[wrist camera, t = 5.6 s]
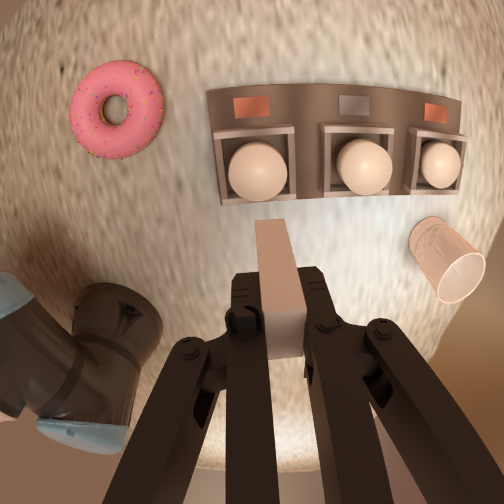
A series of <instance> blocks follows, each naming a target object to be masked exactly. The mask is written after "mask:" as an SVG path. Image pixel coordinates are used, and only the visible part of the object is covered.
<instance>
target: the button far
mask: <svg viewBox="0 0 504 504" xmlns="http://www.w3.org/2000/svg"><path fill="white" fill-rule="evenodd" d="M460 166H461V162H460V157H459V154H458V152H457V151H456V150H455V149H454V148H453V147H451V146H449V145H447V144H445V143H443V142H441V141H438V140H433V141H430V142H428V143H426V144H425V145H424V146H423V147H422V149H421V150H420V159H419V168H418V171H419V174H420V175H421V177H422V178H423V179H425V180H426V181H427V182H429V183H430V184H431V185H433V186H434V187H436V188H440V189H442V188H446V187H448V186H450V185H451V184H453V183H454V181H455V180H456V179H457V177H458V175H459V172H460Z"/></svg>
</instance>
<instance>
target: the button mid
mask: <svg viewBox="0 0 504 504" xmlns="http://www.w3.org/2000/svg"><path fill="white" fill-rule="evenodd" d="M337 171H338V174H339V176H340V178H341V179H342V180H343V181H344V183H345V184H346V185H347V186H348V187H349V189H350V190H352V191H353V192H355V193H357V194H359V195H372V194H375V193H377V192H379V191H380V190H382V189H383V188H384V187H385V186H386V185H387V183H388V182H389V180H390V178H391V175H392V161H391V158H390V156H389V154H388V153H387V152H386V150H384V149H383V148H382V147H380V146H379V145H377V144H375V143H374V142H372V141H370V140H367V139H356V140H353V141H351V142H349V143H347V144H346V145H345V146H344V147H343V148H342V149H341V151H340V153H339V155H338V158H337Z"/></svg>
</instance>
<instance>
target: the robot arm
mask: <svg viewBox="0 0 504 504" xmlns="http://www.w3.org/2000/svg"><path fill="white" fill-rule="evenodd" d="M255 230H256V242H257V255H258V268H259V272H249V273H237V274H236V275H235V277H234V278H233V280H232V286H231V308H230V309H229V310H228V311H227V312H226V315H225V322H226V327H227V331H226V332H225V333H224V334H223V335H222V336H220V337H218V338H216V339H213V340H210V341H207V342H205V341H204V340H202V339H200V338H198V337H187V338H183V339H181V340H180V341H178V342H177V343H176V344H175V345H174V346H173V348H172V350H171V352H170V354H169V356H168V358H167V360H166V362H165V364H164V366H163V368H162V371H161V373H160V375H159V377H158V379H157V381H156V383H155V385H154V388H153V390H152V392H151V394H150V396H149V398H148V400H147V403H146V405H145V407H144V409H143V411H142V413H141V416H140V418H139V420H138V422H137V424H136V427H135V429H134V431H133V433H132V435H131V438H130V440H129V442H128V444H127V447H126V449H125V451H124V453H123V456H122V458H121V460H120V463H119V465H118V467H117V470H116V472H115V474H114V476H113V479H112V481H111V483H110V486H109V488H108V491H107V493H106V495H105V498H104V500H103V503H102V504H183V501H184V498H185V495H186V492H187V489H188V487H189V484H190V481H191V478H192V474H193V472H194V469H195V466H196V463H197V460H198V457H199V454H200V451H201V448H202V445H203V442H204V439H205V436H206V433H207V430H208V426H209V423H210V420H211V417H212V414H213V411H214V408H215V405H216V402H217V399H218V396H219V393H220V391H222V390H225V389H226V504H280V501H279V488H278V476H277V475H278V474H277V462H276V450H275V438H274V426H273V414H272V402H271V390H270V379H269V367H268V360H270V359H282V358H292V357H301V356H303V352H304V355H305V368H304V378H307V384H308V390H309V396H310V402H311V408H312V414H313V421H314V427H315V434H316V440H317V447H318V454H319V460H320V467H321V474H322V482H323V489H324V497H325V504H394V502H393V498H392V493H391V488H390V484H389V479H388V475H387V470H386V466H385V462H384V457H383V453H382V449H381V446H380V441H379V438H378V433H377V429H376V426H375V422H374V418H373V414H372V411H371V407H370V404H371V405H372V407H373V409H374V410H375V412H376V414H377V416H378V417H379V419H380V421H381V422H382V424H383V426H384V427H385V429H386V431H387V433H388V434H389V436H390V438H391V439H392V441H393V443H394V445H395V447H396V448H397V450H398V452H399V453H400V455H401V457H402V459H403V461H404V462H405V464H406V466H407V467H408V469H409V471H410V473H411V474H412V476H413V478H414V480H415V482H416V484H417V485H418V487H419V489H420V491H421V493H422V494H423V496H424V498H425V500H426V502H427V503H428V504H504V475H503V474H502V472H501V470H500V469H499V467H498V465H497V463H496V462H495V460H494V459H493V457H492V455H491V454H490V452H489V451H488V449H487V447H486V446H485V444H484V443H483V441H482V440H481V438H480V437H479V435H478V434H477V432H476V431H475V429H474V428H473V426H472V425H471V423H470V422H469V420H468V419H467V417H466V416H465V414H464V413H463V412H462V410H461V409H460V407H459V406H458V404H457V403H456V402H455V401H454V399H453V397H452V396H451V395H450V393H449V392H448V390H447V389H446V388H445V386H444V385H443V384H442V382H441V381H440V380H439V378H438V377H437V376H436V374H435V373H434V371H433V370H432V369H431V368H430V366H429V365H428V364H427V362H426V361H425V360H424V358H423V357H422V356H421V354H420V353H419V352H418V351H417V349H416V348H415V347H414V345H413V344H412V343H411V342H410V340H409V339H408V338H407V337H406V335H405V334H404V333H403V332H402V330H401V329H400V328H399V327H398V325H396V324H395V323H394V322H393V321H391V320H388V319H384V318H378V319H374V320H372V321H371V322H369V324H368V325H367V326H359V325H353V324H349V323H347V322H345V321H343V319H342V318H341V317H340V316H339V315H337V313H336V311H335V308H334V305H333V302H332V299H331V296H330V293H329V290H328V287H327V284H326V282H325V278H324V276H323V273H322V272H321V271H320V270H319V269H318V268H317V267H316V266H312V267H301V268H297V267H296V263H295V259H294V255H293V251H292V247H291V244H290V240H289V236H288V232H287V228H286V225H285V221H284V219H272V220H259V221H255ZM34 296H35V295H34V294H33V293H32V292H29V291H28V290H27V289H26V287H25V286H24V285H23V284H22V283H21V282H20V281H19V280H18V279H17V278H16V277H15V276H14V275H13V274H12V273H9V272H0V422H2V421H10V420H17V419H18V417H19V415H20V414H21V412H22V410H23V408H24V407H26V408H28V409H30V410H31V411H32V412H34V413H35V414H37V415H38V417H39V418H38V419H37V420H36V422H37V429H38V430H39V431H40V432H42V433H43V434H44V435H45V436H47V437H49V438H51V439H53V440H55V441H58V442H60V443H62V444H65V445H68V446H71V447H74V448H78V449H80V450H85V451H88V452H93V453H99V454H116V453H118V452H120V451H121V450H122V449H123V447H124V443H125V440H126V436H127V432H128V431H129V429H130V427H129V426H130V421H131V415H132V410H133V405H134V400H135V395H136V390H137V385H138V381H139V376H140V372H141V369H142V367H143V366H144V364H145V363H146V361H147V360H148V359H149V357H150V356H151V354H152V353H153V351H154V350H155V349H156V348H157V346H158V344H159V341H160V338H161V333H162V322H161V319H160V316H159V314H158V313H157V311H156V310H155V308H154V307H153V306H152V305H151V304H150V303H149V302H148V301H147V300H146V299H144V298H143V297H142V296H140V295H139V294H137V293H136V292H134V291H132V290H130V289H127V288H125V287H122V286H119V285H115V284H108V283H100V284H94V285H91V286H89V287H87V288H86V289H84V290H83V291H82V293H81V294H80V296H79V298H78V300H77V302H76V304H75V307H74V316H73V322H72V334H71V335H70V334H69V333H68V332H67V331H66V330H65V329H64V328H63V327H62V326H61V325H60V324H59V323H58V322H57V321H56V320H55V319H54V318H53V317H52V316H51V315H50V314H49V313H48V312H47V311H46V310H45V309H44V308H43V307H42V305H41V304H40V303H39V302H38V301H37V300H36V299H35V298H34ZM369 402H370V404H369Z"/></svg>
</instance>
